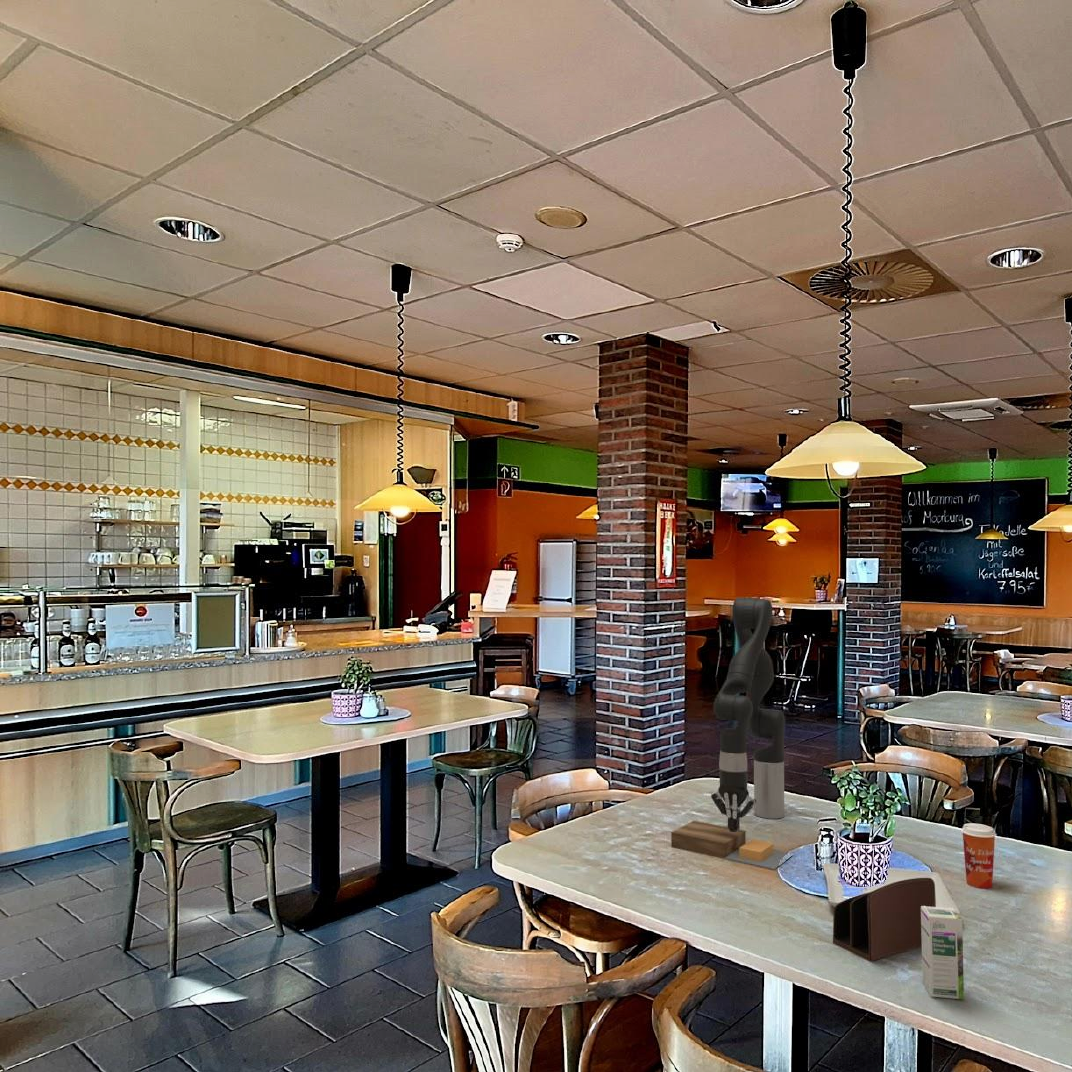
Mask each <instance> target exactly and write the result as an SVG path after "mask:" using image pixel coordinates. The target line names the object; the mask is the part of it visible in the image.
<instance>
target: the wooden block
mask: <svg viewBox="0 0 1072 1072" xmlns="http://www.w3.org/2000/svg"><path fill="white" fill-rule="evenodd" d="M670 833H671V836H670V837H671V842H670V843H671V844H670V845H671V848H674V849H675V848H676V849H680V850H684V851H689V852H693V853H698V854H702V855H707V856H712V857H716V858H721V859H724V858H725V857H726V856H728V855H730V854H731V853H733V852H734V851H736V850H737V849H739V848H740V847H741V846H743V845H744V844H746V843H747V842H746V841H747V838H746V837H747V835H746V834H747V833H746V830H743V829H739V830H737V832H731V831H730V829H728V826H721V825H716V824H713V823H709V822H708V823H707V822H701V821H698V820H693V821H690V822H689V823H687V824H685V825H683V826H680V827H679V828H676V829H675V830H673V831H672V832H670Z"/></svg>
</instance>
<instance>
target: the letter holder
mask: <svg viewBox="0 0 1072 1072" xmlns="http://www.w3.org/2000/svg"><path fill="white" fill-rule="evenodd" d="M921 906H927V907H936V898H935V883H934V881H933V880H932V879H931V878H914V879H907V880H902V881H898V882H894V883H891V884H888V885H886V886H883V887H881V888H878V889H876V890H874V891H872V892H869V893H865V894H861V895H858V896H855V897H852V898H849V899H846V900H844V901H842V902H840V903H838V904H837V905H836V906H835V907H834V906H833V917H832V918H833V920H832V921H833V922H832V930H833V931H832V943H833V944H835V945H837V946H838V947H841V948H843V949H845V950H846V951H849V952H851V953H853V954H855V955H857V956H858V957H860V958H862V959H864V960H867V961H869V962H872V963H873V962H875V961H877V960H880V959H885V958H888V957H891V956H895V955H898V954H902V953H905V952H908V951H912V950H914V949H918V948H922V935H921Z"/></svg>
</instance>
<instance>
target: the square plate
mask: <svg viewBox="0 0 1072 1072" xmlns="http://www.w3.org/2000/svg"><path fill="white" fill-rule="evenodd" d="M838 864H839V863H823V864H822V869H823V872H824V874H825V875H824V876H825V880H826V886H827V898H828V901H829V902H828V903H829V904H831V906H832V907H833V908H834V907H835V906H836V905H837V904H838V903H840V902H842V901H844V900H846V899H847V898H844V897H843V896H842V895H844V892H843V890H842V888H844V887H843V886H842V884H841V883H839V882H838V881H840V880H839V879H838V876H840V873H839V869H838ZM914 878H931V879H932V880H933V881H934V883H935V898H936V907H942V908H953V909H954V910H955V911H956V912H957V913H958V914H959V916H961V912H960V910H959V909H958V906H957V905H956V903H955V902H954V899H953V898H952V896H951V894H950V893H949V891H948V890H947V887H946V886H945V883H944V881H943V880H942V877H941V875H940V874H939V873H938V872H936V871H935V872H934V871H924V870H917V869H916V870H915V869H909V868H908V869H906V868H897V867H889V869H888V875H887V878H886V880H885V883H884V884H881V885H876V886H871V887H870V886H868V887H852V886H850V887H847V888H867V890H865V889H863V894H865V893H869V892H872V891H874V890H876V889H878V888H881V887H883V886H886V885H888V884H891V883H894V882H898V881H902V880H907V879H914ZM860 895H861V892H860Z"/></svg>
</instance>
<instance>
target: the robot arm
mask: <svg viewBox="0 0 1072 1072" xmlns="http://www.w3.org/2000/svg"><path fill="white" fill-rule="evenodd" d="M731 610H732V611H731V612H732V621H733V624H734V625H733V626H734V630H735V634H736V637H737V642H738V646H739V648H738V650H737V651H736V652H735V653H734V654H733V656H732V658H731V660H730V663H729V665H728V670H727V671H728V672H727V674H726V679H725V681H724V683H723V684H722V687H721V688H720V690H719V692H718V693H717V695H716V696H715V699H714V702H713V706H712V707H713V713H714V715H715V717H716V718H717V719H719V720H723V721H730V722H731V721H733V722H737V724H736V726H735V727H731V728H724V729H722V730H721V731H720V734H719V735H720V736H719V737H720V738H719V739H720V741H719V742H720V751H719V763H718V766H719V787H718V789H717V791H716V792H714V793H713V794H711V795H710V798H711V799H712V801H713V803H714V804H715V806H716V808H718V810H719V812H720V813H721V815H725V816H726V817H727V827H728V829H730V831H731V832H737V830H740V826H741V825H740V818H744V817H745V816H747V815H748V813H749V812H750V811H751V810H752V809H753V813H754V815H755V816H757V817H759V818H764V819H769V820H770V819H775V820H777V819H781V818H784V817H785V729H786V725H785V724H786V718H785V714H784V712H783V711H782V710H780V709H771V708H760V704H761V702H762V699H763V697H764V696H765V695H766V694H767V692H768V691H769V690H770V688H771V687H772V686H773V683H774V680H775V675H774V673H775V672H774V663H773V661H772V658H771V656H770V654H769V653H768V651H766V649H765V648H764V644H765V641H766V639H767V636H768V633H769V630H770V627H771V625H772V621H773V604H772V602H771V600H770V599H766V598H758V597H737V598H735V599H734V601H733V604H732V609H731ZM752 630H754V631H753V633H752ZM744 693H746V695H739V694H744ZM748 729H749V732H750V734H751V736H752V737H755V738H759V739H768V740H769V739H770V740H772V743H771V744H769V745H766V746H764V747H763V746H762V747H759V748H757V749H755V750H754V751H753V785H754V786H753V798H752V797H751V796H750V792H749V790H748V757H747V756H748V755H747V734H748ZM744 803H745V806H744V807H743V808H742V805H743V804H744Z"/></svg>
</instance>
